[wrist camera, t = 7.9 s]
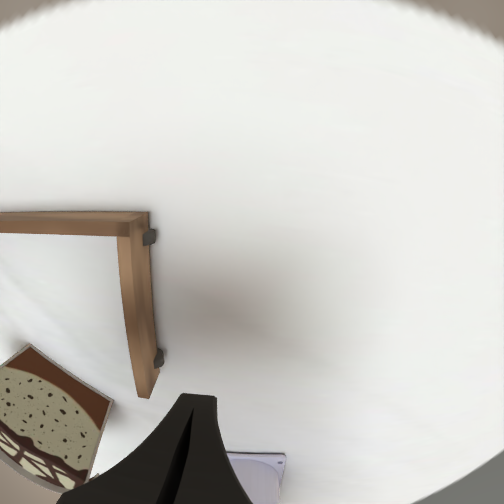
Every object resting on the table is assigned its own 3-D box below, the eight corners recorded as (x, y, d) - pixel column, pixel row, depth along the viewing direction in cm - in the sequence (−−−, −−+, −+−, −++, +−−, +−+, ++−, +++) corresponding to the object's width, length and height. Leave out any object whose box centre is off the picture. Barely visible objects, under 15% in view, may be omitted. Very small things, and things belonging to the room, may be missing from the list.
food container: (12, 372, 24) (-38, 430, 14) (18, 333, 23) (-45, 394, 13) (110, 438, 26) (79, 512, 16) (128, 408, 24) (91, 494, 15)
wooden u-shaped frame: (167, 368, 23) (156, 399, 19) (-17, 330, 23) (-38, 347, 19) (158, 210, 19) (137, 222, 16) (-41, 213, 19) (-68, 222, 16)
